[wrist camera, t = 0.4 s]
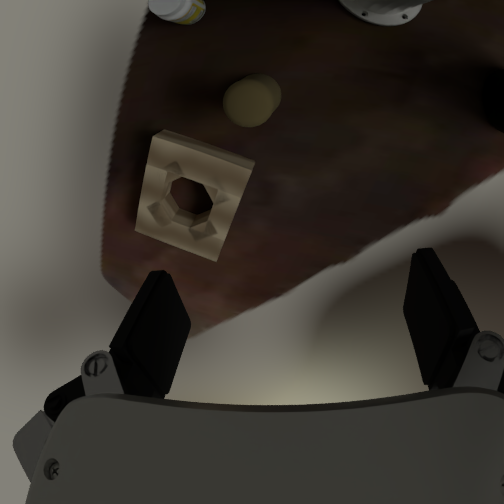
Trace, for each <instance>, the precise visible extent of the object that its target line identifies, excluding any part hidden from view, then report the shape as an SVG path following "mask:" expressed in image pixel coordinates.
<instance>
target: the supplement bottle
mask: <svg viewBox="0 0 504 504" xmlns="http://www.w3.org/2000/svg"><path fill="white" fill-rule="evenodd" d="M148 6H149V9H150V10H151V11H152V12H153V13H154V14H156V15H157V16H158V17H160V18H161V19H164V20H167V21H171V22H175V23H178V24H183V25H189V24H193V23H195V22H197V21H198V20H200V19H201V18H202V16H203V15H204V13H205V8H206V7H205V3H204V1H203V0H149V1H148Z"/></svg>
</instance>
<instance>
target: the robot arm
mask: <svg viewBox="0 0 504 504" xmlns="http://www.w3.org/2000/svg"><path fill="white" fill-rule="evenodd" d="M338 1H339V2H340V4H341V5H342V6H343V7H344V8H345V9H346V10H348V11H349V12H350V13H352V14H353V15H354V16H356V17H358V18H360V19H362V20H363V21H366V22H369V23H371V24H375V25H380V26H397V25H401V24H404V23H407V22H409V21H410V20H412V19H413V18H414V17H416V15H417V14H418V13H419V12H420V9H421V7H422V4H424V3H427V2H429V1H432V0H338ZM362 13H364V14H365V16H362ZM402 16H403V17H404V19H403V18H402ZM403 312H404V316H405V319H406V323H407V326H408V329H409V332H410V336H411V339H412V342H413V345H414V349H415V353H416V357H417V360H418V364H419V368H420V372H421V376H422V380H423V383H424V385H428V387H429V391H424V392H418V393H413V394H406V395H399V396H393V397H385V398H377V399H369V400H360V401H351V402H341V403H340V402H339V403H328V404H327V403H325V404H307V405H230V404H213V403H198V402H187V401H177V400H169V399H164V397H165V394H168V393H169V391H170V388H171V385H172V382H173V379H174V376H175V373H176V369H177V367H178V364H179V361H180V358H181V355H182V352H183V349H184V346H185V343H186V340H187V337H188V334H189V331H190V328H191V321H190V318H189V316H188V314H187V312H186V309H185V307H184V305H183V303H182V300H181V298H180V296H179V293H178V291H177V289H176V287H175V284H174V282H173V279H172V277H171V275H170V274H167V272H166V271H164V270H159V271H151V272H150V273H149V275H148V276H147V278H146V280H145V281H144V283H143V285H142V287H141V288H140V290H139V292H138V294H137V295H136V297H135V299H134V301H133V303H132V304H131V306H130V308H129V310H128V312H127V314H126V315H125V317H124V319H123V321H122V323H121V325H120V326H119V328H118V330H117V332H116V334H115V336H114V338H113V340H112V342H111V343H110V345H109V347H110V348H111V349H110V351H109V353H108V352H107V351H103V350H100V351H96V352H93V353H92V354H90V355H89V356H88V357H87V358H86V359H85V360H84V362H83V363H82V366H81V375H80V376H78V377H77V378H75V379H74V380H72V381H70V382H68V383H67V384H65V385H63V386H61V387H60V388H58V389H56V390H55V391H53V392H52V393H50V394H49V396H48V397H47V398H46V401H45V404H44V411H41V410H40V411H39V412H38V413H37V414H36V415H35V416H34V417H33V418H32V419H31V420H30V421H29V422H28V423H27V424H26V425H25V426H24V427H23V428H21V429H20V431H18V432H17V434H16V435H15V437H14V440H13V448H14V451H15V453H16V455H17V457H18V459H19V461H20V463H21V465H22V467H23V469H24V471H25V473H26V475H27V477H28V479H29V480H30V482H31V485H30V488H29V492H28V495H27V499H26V504H504V339H503V338H502V337H501V336H500V335H499V334H497V333H495V332H492V331H482V332H480V331H479V329H478V326H477V324H476V322H475V320H474V318H473V316H472V314H471V312H470V310H469V308H468V306H467V304H466V302H465V300H464V298H463V296H462V294H461V292H460V291H459V289H458V287H457V285H456V283H455V282H454V281H453V280H451V279H450V277H449V276H448V274H447V272H446V270H445V269H444V267H443V265H442V263H441V262H440V260H439V258H438V257H437V255H436V253H435V252H434V250H433V249H432V248H422V249H417V251H416V253H413V254H412V260H411V266H410V272H409V278H408V284H407V290H406V295H405V300H404V306H403Z"/></svg>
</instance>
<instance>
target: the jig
mask: <svg viewBox="0 0 504 504" xmlns="http://www.w3.org/2000/svg"><path fill="white" fill-rule="evenodd" d="M254 164H255V161H254V160H251V159H249V158H246V157H243V156H241V155H238V154H235V153H232V152H230V151H227V150H224V149H221V148H219V147H216V146H213V145H210V144H207V143H204V142H201V141H198V140H195V139H192V138H189V137H186V136H183V135H180V134H177V133H174V132H171V131H168V130H162V131H161V132H159V133H157V134H156V135H154V136H153V138H152V142H151V146H150V151H149V155H148V160H147V165H146V169H145V174H144V180H143V185H142V190H141V196H140V202H139V208H138V214H137V220H136V227H135V231H137V232H140V233H142V234H145V235H148V236H150V237H153V238H155V239H158V240H160V241H163V242H166V243H168V244H171V245H174V246H176V247H179V248H181V249H184V250H187V251H189V252H192V253H195V254H197V255H200V256H203V257H205V258H208V259H211V260H213V261H217V259H218V256H219V253H220V251H221V248H222V246H223V243H224V240H225V238H226V235H227V233H228V230H229V227H230V225H231V222H232V220H233V217H234V214H235V212H236V209H237V207H238V204H239V202H240V199H241V197H242V194H243V192H244V189H245V187H246V184H247V182H248V179H249V177H250V174H251V172H252V169H253V166H254ZM180 177H185V178H188V179H191V180H193V181H196V182H199V183H202V184H203V185H204V187H205V188H206V190H207V192H208V194H209V196H210V197H211V199H212V201H213V206H212V209H211V210H208V211H206V212H203V213H201V214H198V215H196V214H193V213H191V212H188V211H185V210H183V209H180V208H179V207H178V205H177V204H176V202H175V200H174V199H173V197H172V195H171V194H170V188H171V184H172V181H173V180H175V179H178V178H180Z"/></svg>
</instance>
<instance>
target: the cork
mask: <svg viewBox="0 0 504 504" xmlns="http://www.w3.org/2000/svg"><path fill="white" fill-rule="evenodd" d="M280 100H281V90H280V87H279V85H278V84H277V82H276V81H275V80H274V79H273V78H271V77H270V76H268V75H265V74H251V75H248V76H246V77H245V78H243V79H242V80H240V81H237V82H235V83H234V84H232V85H231V86H230V87H229V88H228V89H227V91H226V92H225V95H224V98H223V108H224V111H225V114H226V115H227V117H228V118H229V119H230V120H231V121H232V122H234V123H235V124H237V125H240V126H243V127H254V126H258V125H261V124H262V123H264V122H265V121H267V119H268V118H269V117H270V116H271V114H272V112H273V111H274V110H275V109H276V108H277V107H278V106H279V103H280Z"/></svg>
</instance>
